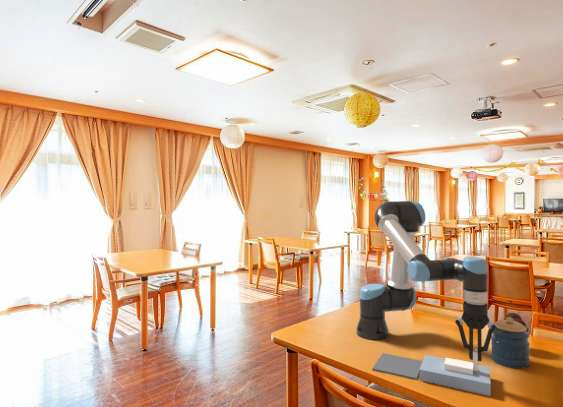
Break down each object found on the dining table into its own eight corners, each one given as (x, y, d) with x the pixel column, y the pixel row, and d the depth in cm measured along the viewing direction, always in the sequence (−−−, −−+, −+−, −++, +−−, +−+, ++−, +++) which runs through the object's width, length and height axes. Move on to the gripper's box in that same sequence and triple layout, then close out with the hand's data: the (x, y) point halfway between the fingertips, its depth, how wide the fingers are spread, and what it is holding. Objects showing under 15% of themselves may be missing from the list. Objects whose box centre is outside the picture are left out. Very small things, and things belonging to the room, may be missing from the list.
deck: (419, 380, 130) (419, 369, 130) (425, 364, 142) (425, 354, 142) (490, 396, 119) (490, 384, 119) (490, 377, 131) (490, 366, 131)
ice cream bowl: (492, 343, 162) (492, 310, 162) (516, 342, 163) (516, 309, 163) (509, 353, 151) (509, 318, 151) (534, 352, 152) (534, 317, 152)
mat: (372, 369, 138) (372, 368, 138) (382, 354, 152) (382, 352, 152) (416, 379, 130) (416, 378, 130) (423, 362, 144) (423, 360, 144)
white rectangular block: (444, 369, 129) (444, 363, 129) (445, 362, 134) (445, 357, 134) (472, 375, 125) (472, 369, 125) (473, 368, 130) (473, 362, 130)
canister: (490, 364, 142) (490, 319, 142) (491, 352, 153) (491, 310, 153) (530, 372, 135) (530, 325, 135) (528, 359, 146) (528, 315, 146)
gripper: (453, 302, 127) (454, 369, 127) (497, 307, 121) (497, 378, 121) (455, 297, 133) (455, 361, 134) (496, 301, 127) (496, 368, 127)
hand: (475, 369), depth 127 cm, fingers closed
